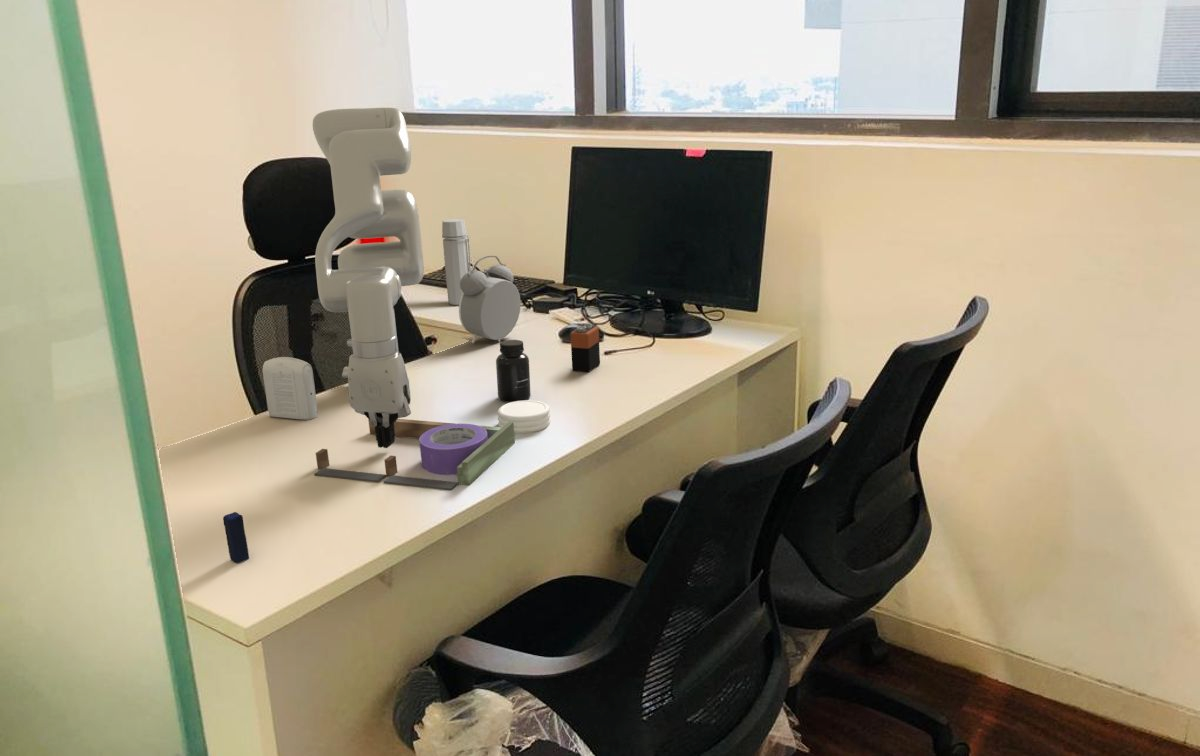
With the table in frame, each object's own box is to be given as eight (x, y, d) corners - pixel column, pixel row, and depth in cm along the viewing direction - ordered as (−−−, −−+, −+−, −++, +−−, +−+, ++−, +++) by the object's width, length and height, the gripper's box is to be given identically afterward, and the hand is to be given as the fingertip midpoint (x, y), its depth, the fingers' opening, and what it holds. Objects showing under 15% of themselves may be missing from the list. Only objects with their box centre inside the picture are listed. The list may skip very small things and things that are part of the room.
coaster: (492, 421, 180) (490, 404, 179) (540, 412, 183) (539, 396, 182) (508, 438, 171) (506, 420, 170) (558, 428, 175) (557, 411, 174)
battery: (571, 371, 208) (569, 328, 205) (583, 362, 214) (581, 321, 211) (589, 373, 207) (587, 330, 204) (600, 364, 213) (599, 322, 210)
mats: (314, 475, 157) (314, 473, 157) (322, 469, 159) (322, 467, 159) (451, 490, 149) (451, 488, 149) (458, 483, 151) (458, 482, 151)
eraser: (236, 564, 128) (228, 520, 126) (228, 559, 130) (221, 515, 128) (250, 558, 130) (243, 514, 128) (243, 553, 131) (236, 510, 129)
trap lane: (317, 469, 160) (314, 447, 158) (375, 430, 177) (373, 410, 176) (469, 485, 151) (467, 462, 150) (514, 442, 168) (513, 422, 167)
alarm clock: (501, 331, 245) (495, 249, 238) (526, 335, 240) (521, 251, 233) (458, 346, 232) (450, 260, 225) (483, 350, 227) (476, 262, 220)
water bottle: (444, 306, 275) (436, 222, 267) (452, 300, 282) (445, 218, 275) (474, 306, 273) (467, 222, 266) (481, 300, 281) (475, 218, 273)
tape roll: (456, 481, 153) (453, 453, 152) (407, 466, 160) (404, 439, 158) (503, 457, 162) (501, 430, 161) (455, 444, 169) (453, 419, 167)
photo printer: (321, 414, 187) (313, 356, 183) (309, 421, 183) (301, 362, 179) (278, 410, 190) (270, 353, 186) (265, 418, 186) (256, 359, 182)
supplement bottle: (526, 403, 188) (522, 347, 185) (494, 402, 190) (489, 346, 186) (534, 392, 195) (531, 338, 191) (503, 391, 196) (500, 337, 192)
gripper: (325, 350, 159) (338, 449, 164) (402, 355, 154) (413, 456, 160) (349, 339, 165) (361, 433, 171) (423, 343, 161) (433, 440, 167)
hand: (386, 444), depth 166 cm, fingers closed
